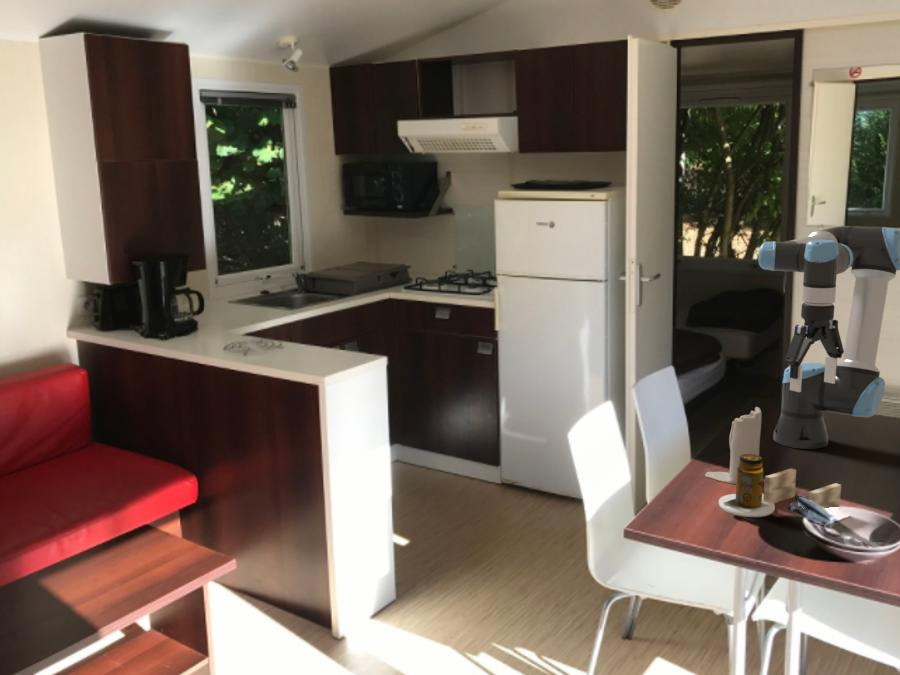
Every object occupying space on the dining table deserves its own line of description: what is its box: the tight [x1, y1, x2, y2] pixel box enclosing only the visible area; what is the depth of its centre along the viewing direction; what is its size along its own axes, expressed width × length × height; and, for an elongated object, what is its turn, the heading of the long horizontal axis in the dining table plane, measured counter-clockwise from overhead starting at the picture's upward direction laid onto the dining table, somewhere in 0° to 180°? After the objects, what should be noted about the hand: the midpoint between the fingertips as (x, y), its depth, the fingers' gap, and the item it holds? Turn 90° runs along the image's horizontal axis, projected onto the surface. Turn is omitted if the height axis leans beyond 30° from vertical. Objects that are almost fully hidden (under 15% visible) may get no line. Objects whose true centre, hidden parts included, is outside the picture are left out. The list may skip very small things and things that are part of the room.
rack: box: [762, 468, 842, 508], centre depth 221 cm, size 10×20×7 cm, turn 33°
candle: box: [704, 406, 763, 485], centre depth 239 cm, size 7×14×20 cm, turn 55°
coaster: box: [718, 493, 776, 518], centre depth 223 cm, size 13×13×1 cm
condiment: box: [723, 454, 769, 513], centre depth 221 cm, size 7×8×12 cm
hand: (812, 386), depth 229 cm, fingers open, 13 cm apart
